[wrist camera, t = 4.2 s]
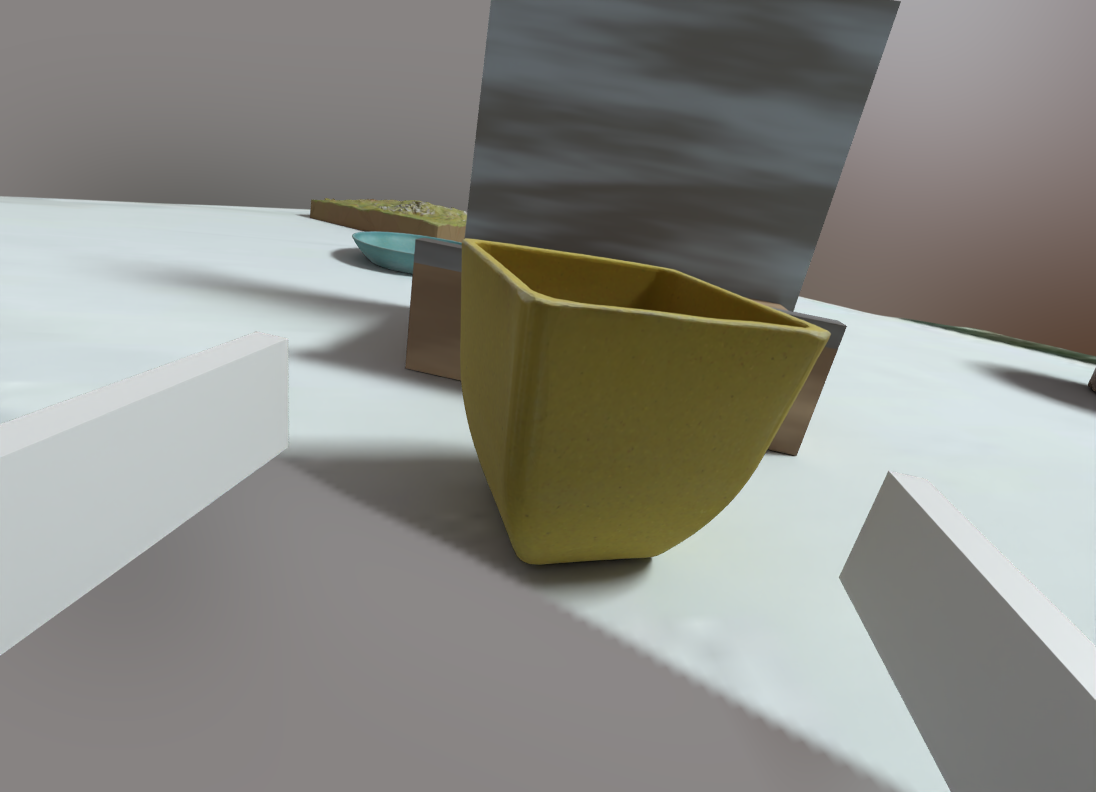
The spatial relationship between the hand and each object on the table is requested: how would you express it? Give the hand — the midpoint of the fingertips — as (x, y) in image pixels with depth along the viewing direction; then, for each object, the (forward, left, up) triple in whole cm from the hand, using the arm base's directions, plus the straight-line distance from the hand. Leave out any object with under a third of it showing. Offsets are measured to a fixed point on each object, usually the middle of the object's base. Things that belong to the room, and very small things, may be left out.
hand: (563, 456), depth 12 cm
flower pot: (+2, -6, -6) cm, 9 cm away
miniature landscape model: (+62, -54, -7) cm, 83 cm away
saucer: (+40, -34, -6) cm, 53 cm away
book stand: (+10, -22, -6) cm, 25 cm away
